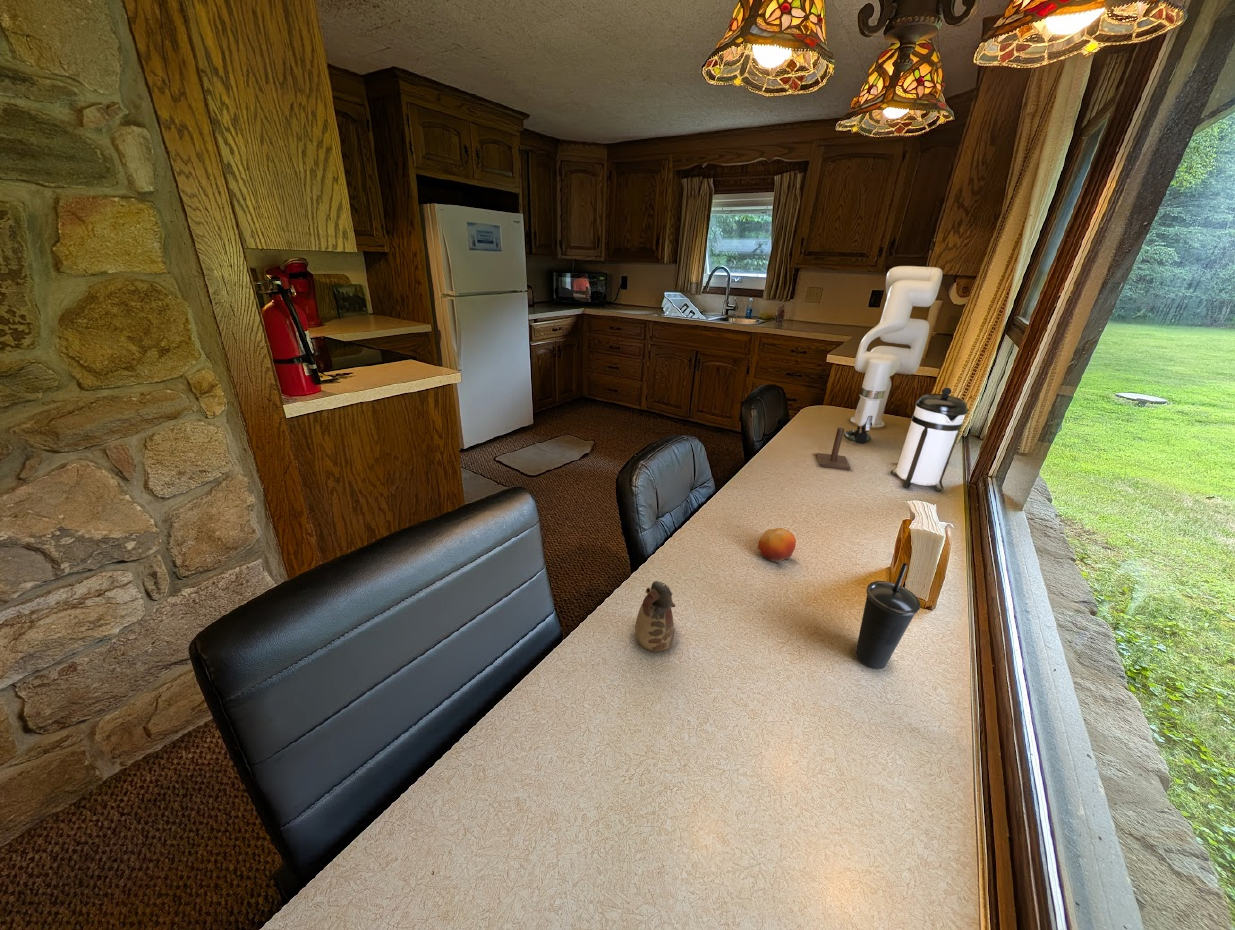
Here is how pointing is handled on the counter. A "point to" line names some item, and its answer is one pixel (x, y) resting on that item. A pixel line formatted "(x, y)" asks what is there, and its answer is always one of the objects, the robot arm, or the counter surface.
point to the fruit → (777, 544)
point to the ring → (848, 433)
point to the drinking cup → (885, 620)
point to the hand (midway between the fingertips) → (859, 441)
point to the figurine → (656, 618)
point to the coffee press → (931, 439)
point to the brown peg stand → (834, 455)
